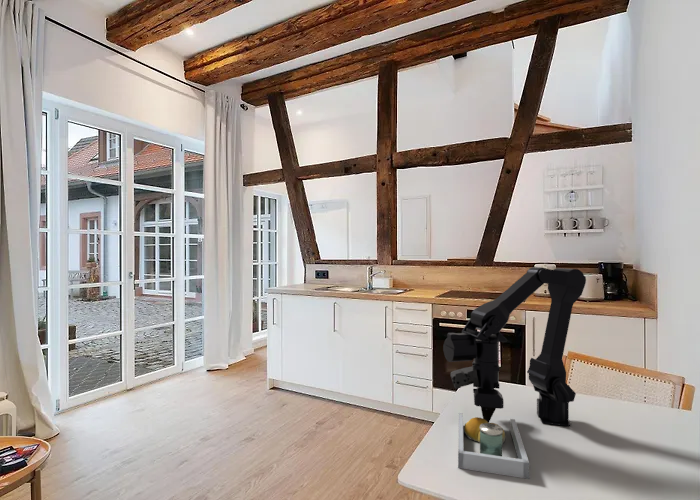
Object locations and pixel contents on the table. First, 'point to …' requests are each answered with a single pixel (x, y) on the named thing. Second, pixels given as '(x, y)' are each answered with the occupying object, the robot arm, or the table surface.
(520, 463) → the u-shaped frame
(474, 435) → the bread roll
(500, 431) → the tea tin
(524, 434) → the table surface
